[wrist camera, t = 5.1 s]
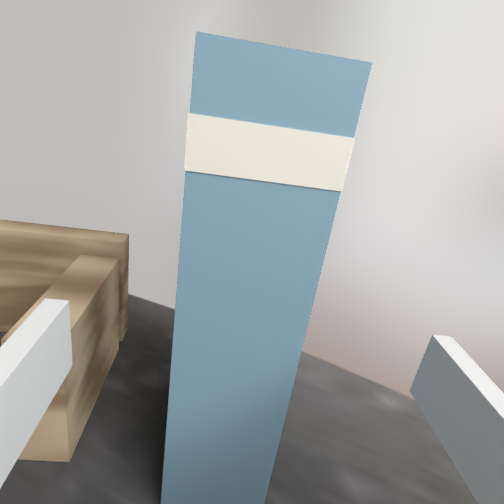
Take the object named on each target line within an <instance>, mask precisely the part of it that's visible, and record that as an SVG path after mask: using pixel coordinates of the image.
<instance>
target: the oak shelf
mask: <svg viewBox="0 0 504 504" xmlns="http://www.w3.org/2000/svg"><path fill="white" fill-rule="evenodd" d="M128 260H129V234H123V233H115V232H105V231H96V230H88V229H79V228H69V227H61V226H53V225H44V224H35V223H25V222H17V221H8V220H0V332H4V333H7V334H6V335H5V336H4V337H3V338H2V339H1V345H3V344H4V343H5V342H6V340H7V339H8V338H9V337H10V336H11V335H12V334H13V333H14V332H15V331H16V330H17V329H18V327H19V326H20V325H21V324H22V323H23V322H24V321H25V320H26V319H27V318H28V317H29V315H30V314H31V313H32V312H33V311H34V310H35V309H36V308H37V307H38V306H39V305H40V304H41V302H42V301H43V300H44V299H45V298H46V299H57V300H67V301H69V309H70V327H71V345H72V362H73V366H72V367H71V369H70V371H69V372H68V374H67V376H66V378H65V379H64V381H63V383H62V384H61V386H60V388H59V389H58V391H57V393H56V395H55V396H54V398H53V400H52V401H51V403H50V405H49V406H48V408H47V410H46V412H45V413H44V415H43V417H42V418H41V420H40V422H39V423H38V425H37V427H36V429H35V430H34V432H33V434H32V435H31V437H30V439H29V440H28V442H27V444H26V446H25V447H24V449H23V451H22V452H21V454H20V456H19V457H18V459H19V460H35V461H58V462H70V460H71V458H72V455H73V453H74V451H75V448H76V446H77V444H78V442H79V439H80V437H81V435H82V432H83V430H84V428H85V425H86V423H87V421H88V419H89V416H90V414H91V412H92V409H93V407H94V405H95V403H96V400H97V398H98V396H99V393H100V391H101V389H102V386H103V384H104V382H105V380H106V377H107V375H108V373H109V370H110V368H111V366H112V364H113V361H114V359H115V357H116V354H117V352H118V350H119V342H122V341H123V338H124V336H125V334H126V331H127V324H128Z"/></svg>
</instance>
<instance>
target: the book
mask: <svg viewBox="0 0 504 504" xmlns="http://www.w3.org/2000/svg"><path fill="white" fill-rule="evenodd" d="M371 65H372V63H371V62H365V61H360V60H354V59H348V58H343V57H336V56H331V55H326V54H320V53H314V52H309V51H303V50H298V49H292V48H286V47H281V46H275V45H269V44H264V43H258V42H252V41H247V40H241V39H236V38H229V37H224V36H219V35H213V34H206V33H202V32H196V38H195V51H194V64H193V78H192V92H191V104H190V113H188V123H187V138H186V151H185V165H184V170H185V186H184V198H183V212H182V225H181V238H180V252H179V266H178V279H177V292H176V305H175V306H176V307H175V319H174V332H173V346H172V359H171V372H170V386H169V399H168V413H167V426H166V440H165V453H164V466H163V480H162V493H161V504H264V502H265V498H266V494H267V490H268V486H269V482H270V478H271V474H272V470H273V466H274V462H275V458H276V453H277V449H278V445H279V441H280V437H281V433H282V429H283V425H284V421H285V417H286V413H287V409H288V404H289V400H290V396H291V392H292V388H293V384H294V380H295V376H296V372H297V368H298V364H299V360H300V355H301V351H302V347H303V343H304V338H305V335H306V331H307V327H308V323H309V319H310V315H311V310H312V306H313V302H314V298H315V294H316V290H317V286H318V282H319V278H320V274H321V270H322V265H323V261H324V257H325V253H326V249H327V245H328V241H329V237H330V233H331V229H332V225H333V220H334V217H335V212H336V208H337V204H338V200H339V196H340V192H341V191H343V187H344V183H345V178H346V175H347V170H348V166H349V162H350V158H351V154H352V150H353V146H354V142H355V138H354V135H355V131H356V127H357V123H358V118H359V114H360V110H361V106H362V102H363V98H364V94H365V90H366V86H367V82H368V78H369V74H370V69H371Z"/></svg>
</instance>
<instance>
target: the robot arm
mask: <svg viewBox="0 0 504 504" xmlns="http://www.w3.org/2000/svg"><path fill="white" fill-rule="evenodd" d="M72 366H73V362H72V345H71V327H70V309H69V301H67V300H57V299H46V298H45V299H44V300H43V301H42V302H41V304H40V305H39V306H38V307H37V308H36V309H35V310H34V311H33V312H32V313H31V314H30V315H29V317H28V318H27V319H26V320H25V321H24V322H23V323H22V324H21V325H20V326H19V327H18V329H17V330H16V331H15V332H14V333H13V334H12V335H11V336H10V337H9V338H8V339H7V340H6V342H5V343H4V344H3V345H2V346H1V347H0V488H1V486H2V485H3V483H4V481H5V480H6V478H7V476H8V474H9V473H10V471H11V469H12V468H13V466H14V464H15V463H16V461H17V459H18V457H19V456H20V454H21V452H22V451H23V449H24V447H25V446H26V444H27V442H28V440H29V439H30V437H31V435H32V434H33V432H34V430H35V429H36V427H37V425H38V423H39V422H40V420H41V418H42V417H43V415H44V413H45V412H46V410H47V408H48V406H49V405H50V403H51V401H52V400H53V398H54V396H55V395H56V393H57V391H58V389H59V388H60V386H61V384H62V383H63V381H64V379H65V378H66V376H67V374H68V372H69V371H70V369H71V367H72ZM410 392H411V394H412V396H413V397H414V399H415V401H416V402H417V404H418V406H419V407H420V409H421V411H422V412H423V414H424V416H425V417H426V419H427V421H428V422H429V424H430V425H431V427H432V429H433V430H434V432H435V434H436V435H437V437H438V439H439V440H440V442H441V444H442V445H443V447H444V448H445V450H446V452H447V453H448V455H449V457H450V458H451V460H452V462H453V463H454V465H455V467H456V468H457V470H458V471H459V473H460V475H461V476H462V478H463V480H464V481H465V483H466V485H467V486H468V488H469V490H470V491H471V493H472V494H473V496H474V498H475V499H476V501H477V503H478V504H504V393H503V392H502V391H501V390H500V389H499V388H498V387H497V386H496V385H495V384H494V383H493V381H492V380H491V379H490V378H489V377H488V376H487V375H486V374H485V373H484V372H483V371H482V370H481V369H480V367H479V366H478V365H477V364H476V363H475V362H474V361H473V360H472V359H471V358H470V357H469V355H468V354H467V353H466V352H465V351H464V350H463V349H462V348H461V347H460V346H459V345H458V343H457V342H456V341H455V340H454V339H453V338H452V337H450V336H439V335H432V337H431V340H430V342H429V344H428V347H427V349H426V352H425V354H424V357H423V359H422V362H421V364H420V366H419V369H418V371H417V374H416V376H415V379H414V381H413V384H412V386H411V388H410Z"/></svg>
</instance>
